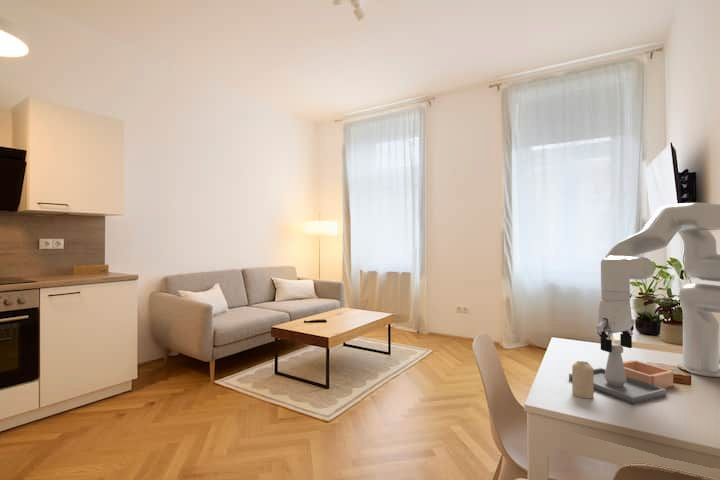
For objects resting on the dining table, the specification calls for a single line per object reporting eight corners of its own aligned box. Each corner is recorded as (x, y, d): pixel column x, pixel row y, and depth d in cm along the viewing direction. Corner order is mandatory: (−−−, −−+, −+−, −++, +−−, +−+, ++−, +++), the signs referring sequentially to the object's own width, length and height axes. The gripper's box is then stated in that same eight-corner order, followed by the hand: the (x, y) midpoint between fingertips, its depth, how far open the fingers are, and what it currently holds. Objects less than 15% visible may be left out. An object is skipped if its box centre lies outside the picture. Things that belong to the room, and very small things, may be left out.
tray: (600, 373, 128) (600, 367, 128) (666, 395, 109) (666, 389, 109) (569, 379, 122) (569, 373, 122) (632, 404, 103) (632, 397, 103)
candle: (586, 400, 106) (586, 366, 106) (568, 393, 111) (568, 361, 111) (597, 396, 108) (597, 363, 108) (579, 389, 113) (579, 358, 113)
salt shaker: (630, 389, 112) (629, 347, 112) (609, 387, 113) (609, 346, 113) (620, 382, 118) (620, 342, 118) (601, 380, 119) (601, 341, 119)
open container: (634, 372, 129) (634, 359, 129) (675, 385, 117) (675, 371, 117) (611, 377, 124) (611, 364, 124) (651, 391, 112) (651, 376, 112)
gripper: (620, 292, 122) (621, 342, 122) (585, 296, 116) (586, 349, 116) (645, 295, 115) (646, 348, 115) (609, 300, 109) (610, 356, 109)
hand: (616, 349), depth 116 cm, fingers open, 9 cm apart
